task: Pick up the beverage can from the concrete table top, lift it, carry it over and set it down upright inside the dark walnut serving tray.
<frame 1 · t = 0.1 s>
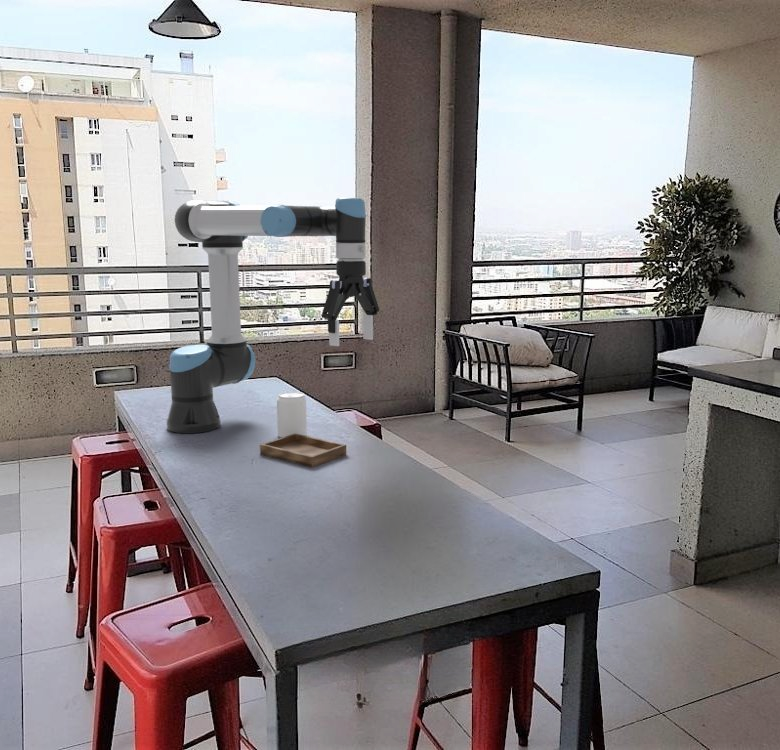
hand: (351, 342, 193), 28 cm above the table, fingers open, 13 cm apart
walnut tray: (303, 454, 190), on the table
beverage can: (292, 437, 207), on the table
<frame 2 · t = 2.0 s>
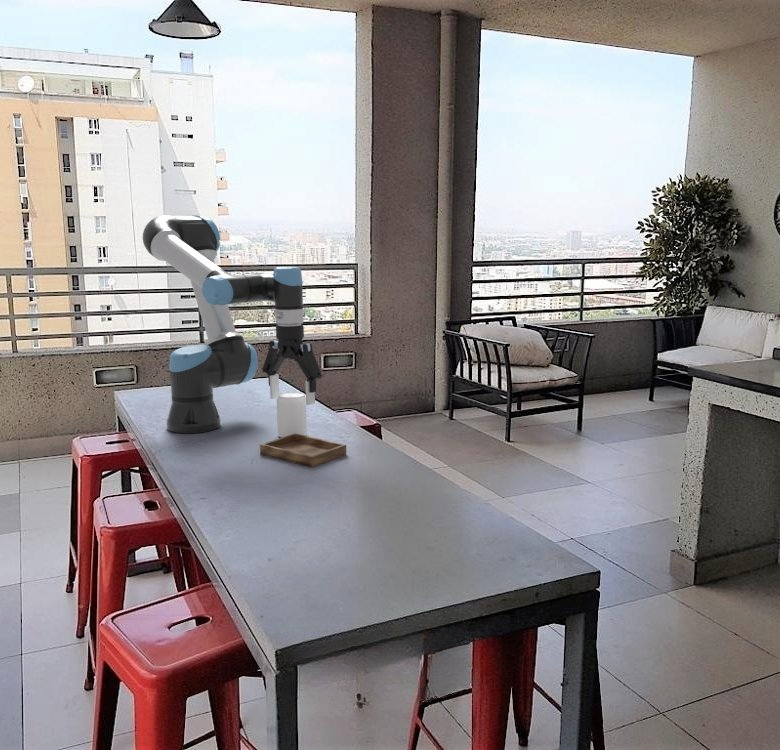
hand: (292, 401, 205), 10 cm above the table, fingers open, 13 cm apart
nothing on the table moved.
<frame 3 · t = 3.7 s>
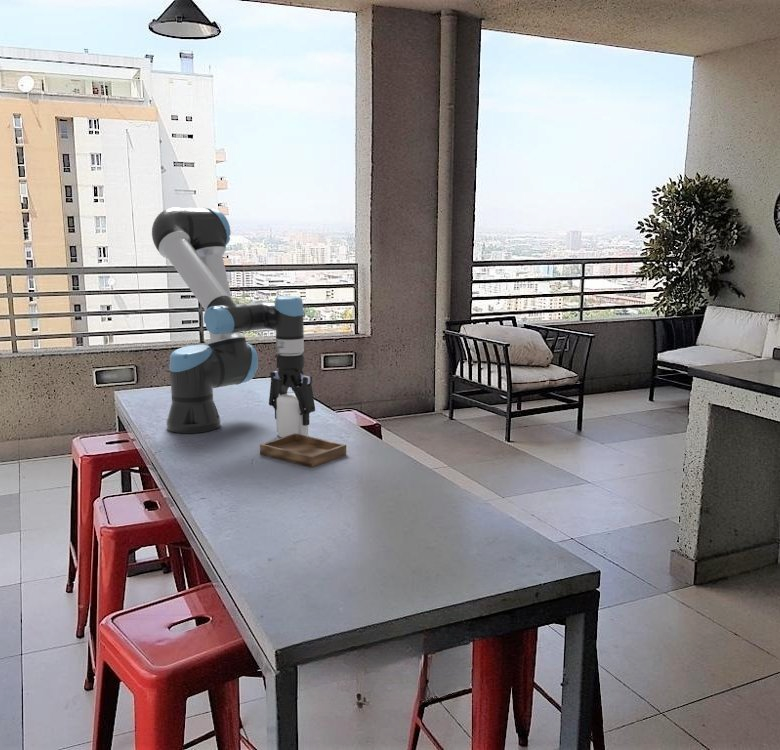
hand: (292, 433, 207), 1 cm above the table, fingers closed on beverage can, 8 cm apart
beverage can: (292, 437, 207), on the table, touching gripper
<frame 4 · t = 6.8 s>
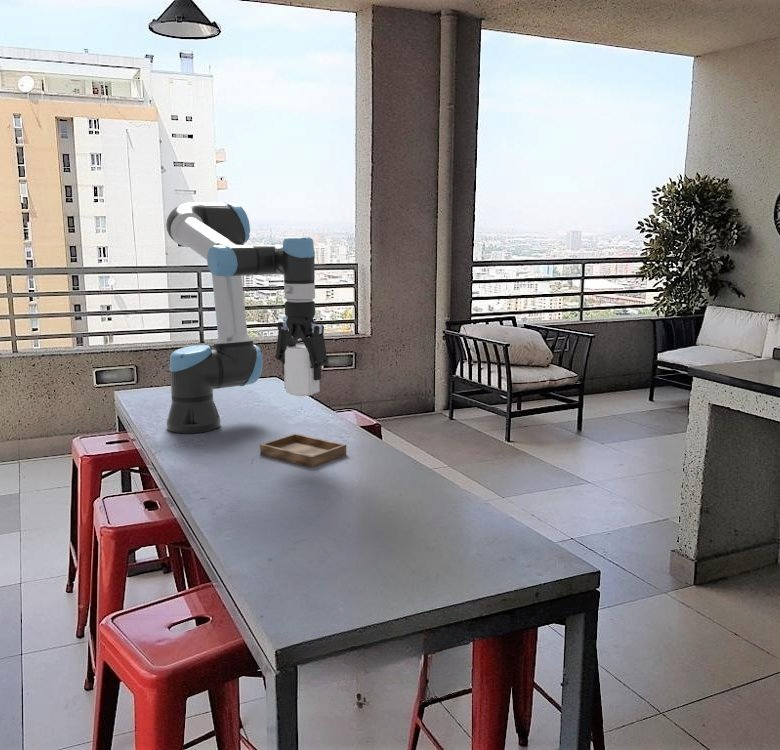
hand: (301, 390, 187), 17 cm above the table, fingers closed on beverage can, 8 cm apart
beverage can: (302, 394, 187), point 16 cm above the table, touching gripper
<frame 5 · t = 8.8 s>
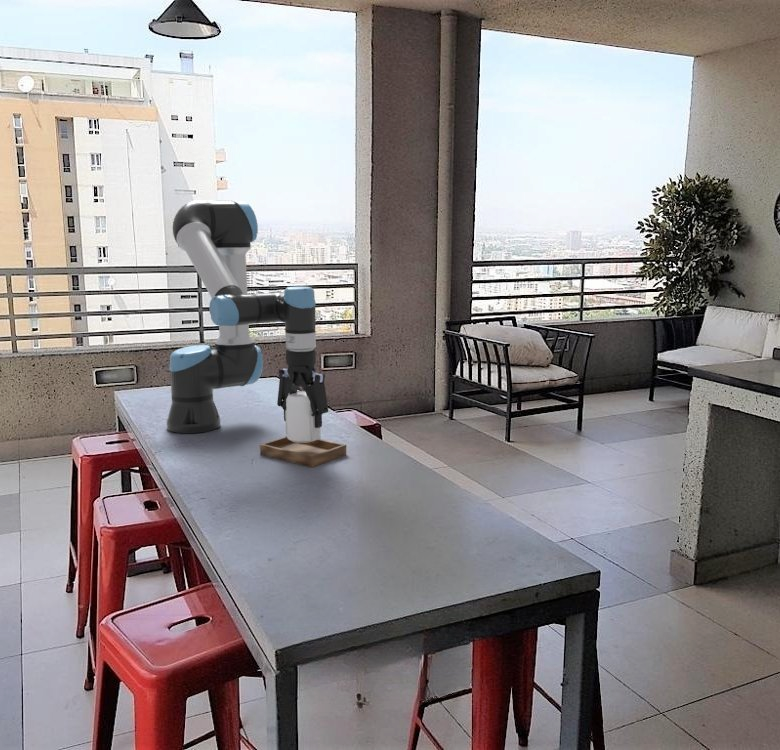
hand: (303, 436, 189), 5 cm above the table, fingers closed on beverage can, 8 cm apart
beverage can: (303, 440, 190), point 4 cm above the table, touching gripper
when the fingers open (3 cm above the table, at t = 10.1 s): beverage can drops 2 cm, resting on walnut tray.
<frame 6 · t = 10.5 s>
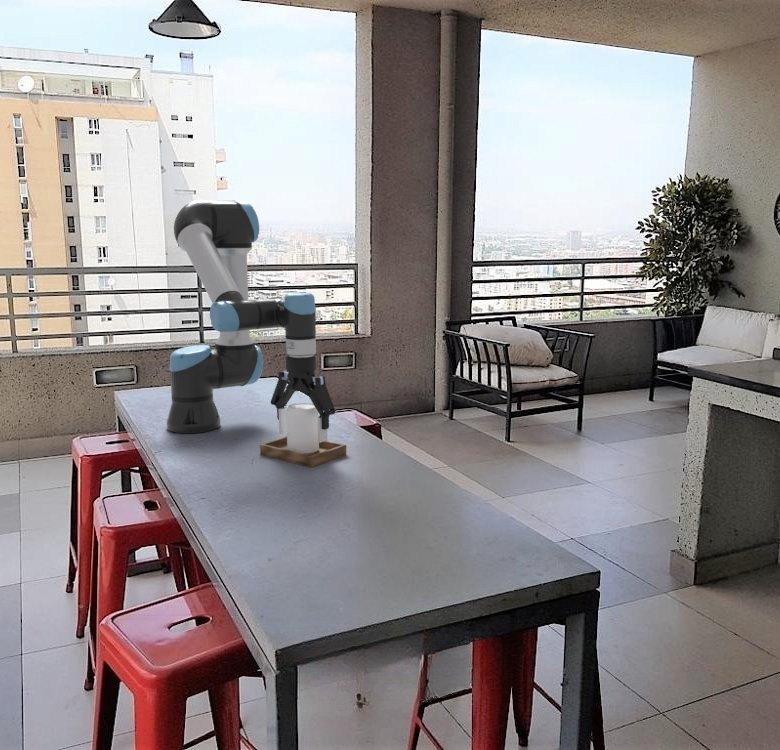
hand: (302, 436, 190), 5 cm above the table, fingers open, 13 cm apart
beverage can: (303, 452, 190), point 1 cm above the table, touching walnut tray
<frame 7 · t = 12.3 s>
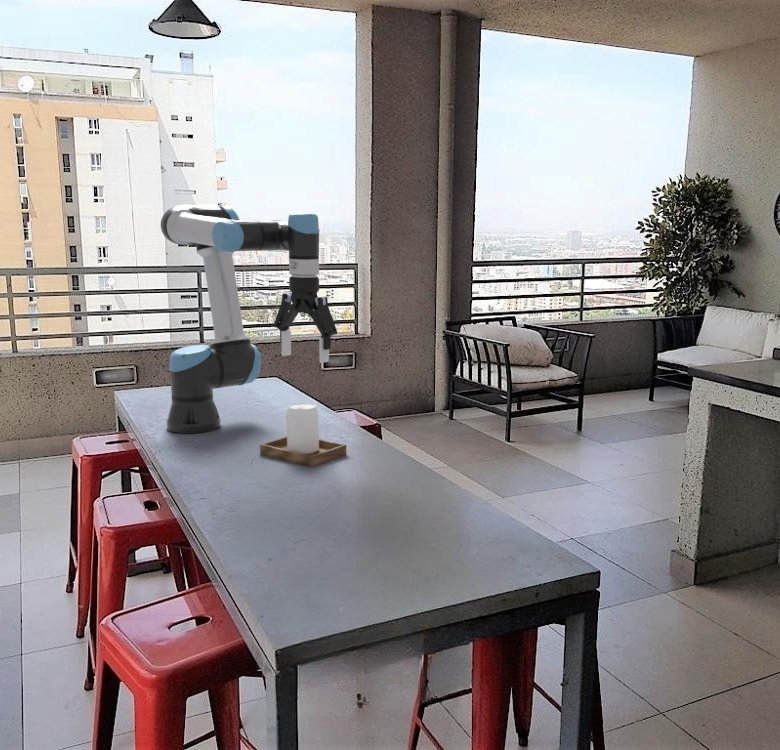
hand: (304, 358, 191), 24 cm above the table, fingers open, 13 cm apart
nothing on the table moved.
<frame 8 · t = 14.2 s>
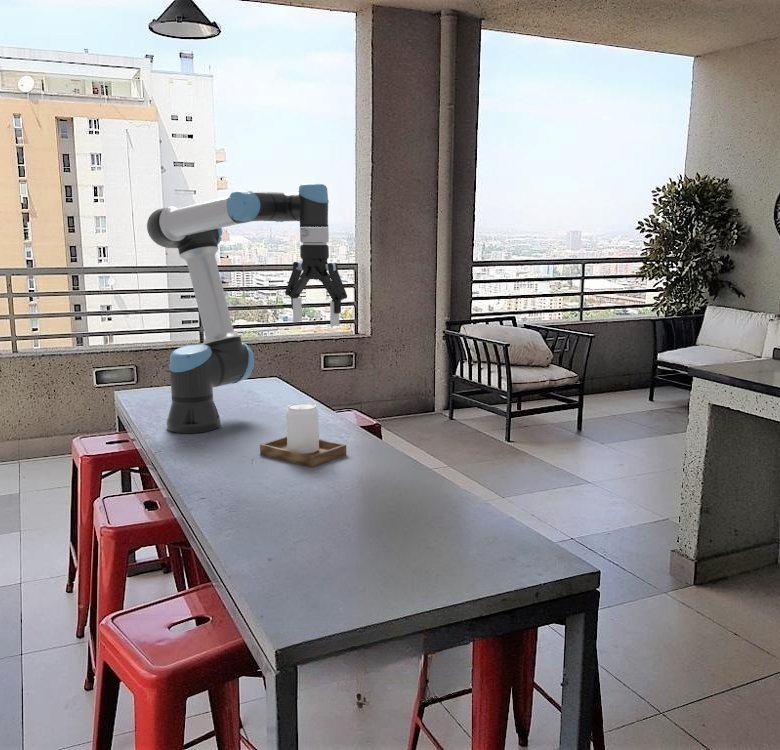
hand: (315, 323, 200), 32 cm above the table, fingers open, 13 cm apart
nothing on the table moved.
at the end: beverage can inside the target area on the walnut tray (0.0 cm from its centre), point 0.6 cm above the walnut tray's base; beverage can tilted 0°; the gripper is holding nothing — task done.
